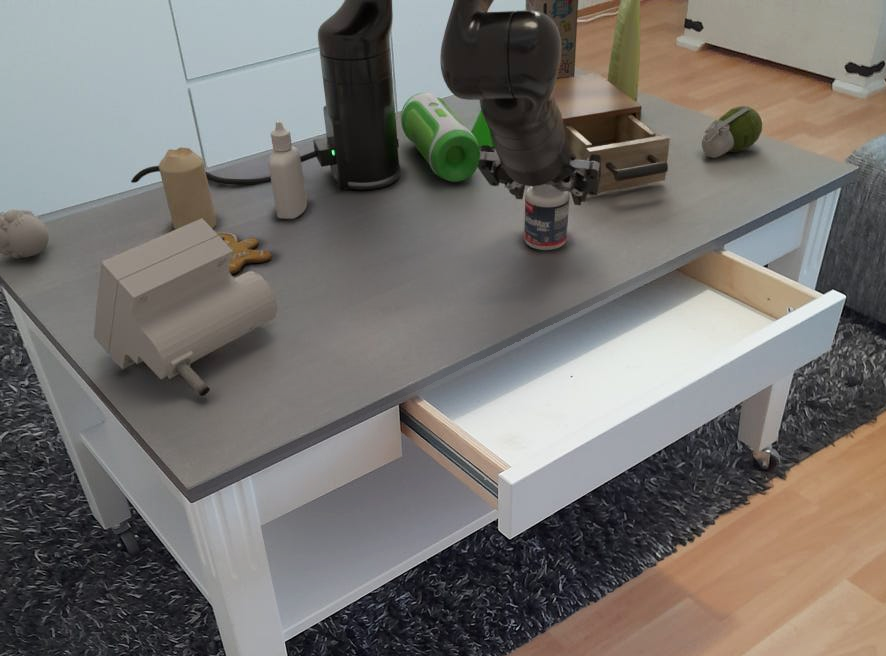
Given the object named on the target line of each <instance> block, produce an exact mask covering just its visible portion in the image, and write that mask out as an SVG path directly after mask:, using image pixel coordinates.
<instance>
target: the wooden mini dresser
mask: <svg viewBox="0 0 886 656" xmlns="http://www.w3.org/2000/svg"><path fill="white" fill-rule="evenodd" d="M607 80H608V79H606V78H605V77H603V76H602V75H600V74H599V73H598V72H595V73H588V74H581V75H574V77H567V78H561V79H556V82H555V85H554V88H553V95H554V98H555V102H556V104H557V106H558V107H559V109H560V112H561V115H562V118H563V122H564V124H568V123H574V122H581V121H587V120H593V119H599V118H605V117H611V116H617V115H623V114H629V113H630V114H631V115H632V116H634V117H635V118H636V119H638V120H639V121H640V122H641V120H642V119H641V118H642V109H643V108H642V107H643V106H642V105H641V104H640V103H638V101H637V102H636V101H634V100H633V99H632V98H630V97H629V96H627V95H626V94H625V93H623V92H622V91H621V90H619V89H618V88H617V87H615V86H614V85H613V84H611V83H610V82H609V81H607Z"/></svg>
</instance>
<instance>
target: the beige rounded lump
mask: <svg viewBox="0 0 886 656" xmlns="http://www.w3.org/2000/svg"><path fill="white" fill-rule="evenodd" d="M40 219H41V218H40V216H39V215H35V214H34V212H32V210H31V211H30V210H27V209H11V210H7V211H1V212H0V254H1V255H3V256H9V255H10V257H12V258H14V259H22V258H24V259H26V258H29V257H31V256H37V255H40V253H42V252H43V251H44V250H45V249H46V248H47V246H48V243H49V232H48V231H49V230H48V229H47V227H46V225H45V224H44V223H43V221H42V220H40Z"/></svg>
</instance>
